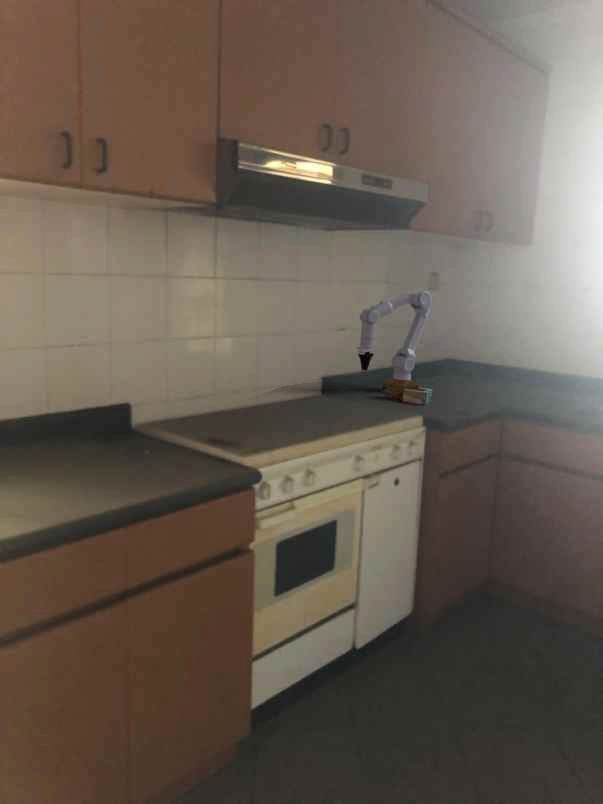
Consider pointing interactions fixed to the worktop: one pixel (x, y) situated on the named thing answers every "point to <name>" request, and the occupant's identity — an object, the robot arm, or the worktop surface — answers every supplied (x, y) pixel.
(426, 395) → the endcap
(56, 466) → the worktop surface
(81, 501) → the worktop surface
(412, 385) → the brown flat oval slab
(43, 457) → the worktop surface
